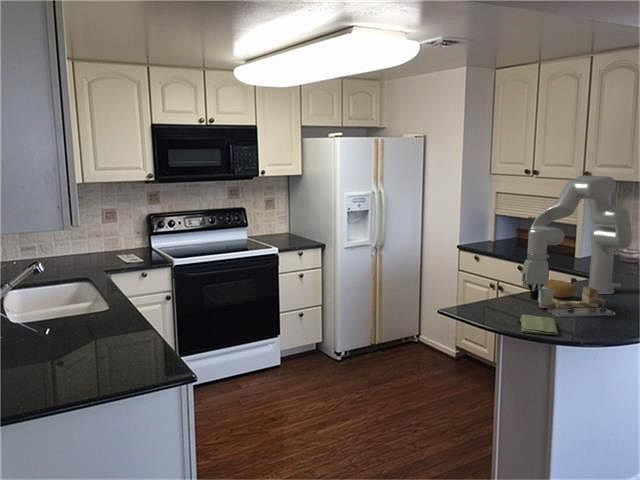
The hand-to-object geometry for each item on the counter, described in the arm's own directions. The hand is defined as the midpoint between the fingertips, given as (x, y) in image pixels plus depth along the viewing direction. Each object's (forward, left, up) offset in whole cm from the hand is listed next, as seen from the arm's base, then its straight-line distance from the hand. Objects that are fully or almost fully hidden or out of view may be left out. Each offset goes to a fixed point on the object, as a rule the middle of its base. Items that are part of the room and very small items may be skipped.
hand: (534, 299), depth 228 cm
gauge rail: (-16, +4, -4) cm, 17 cm away
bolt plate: (-16, +10, -4) cm, 19 cm away
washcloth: (+11, +26, -4) cm, 28 cm away
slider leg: (-5, +4, -2) cm, 7 cm away
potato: (-20, -15, -4) cm, 25 cm away
